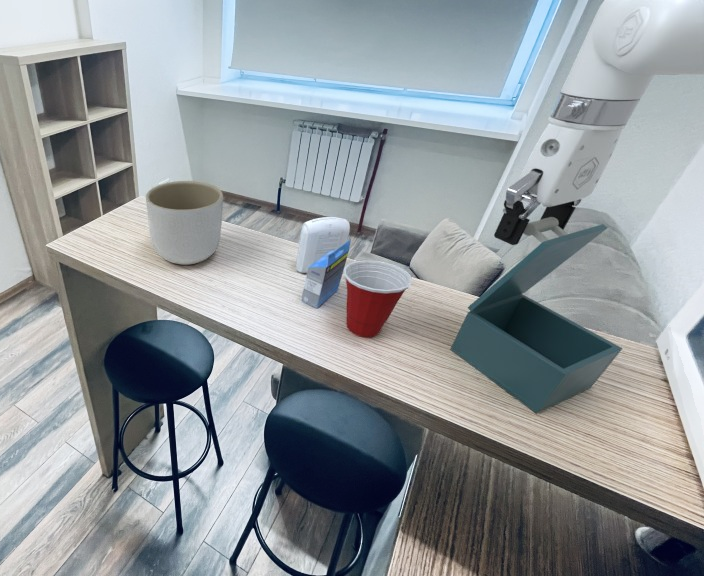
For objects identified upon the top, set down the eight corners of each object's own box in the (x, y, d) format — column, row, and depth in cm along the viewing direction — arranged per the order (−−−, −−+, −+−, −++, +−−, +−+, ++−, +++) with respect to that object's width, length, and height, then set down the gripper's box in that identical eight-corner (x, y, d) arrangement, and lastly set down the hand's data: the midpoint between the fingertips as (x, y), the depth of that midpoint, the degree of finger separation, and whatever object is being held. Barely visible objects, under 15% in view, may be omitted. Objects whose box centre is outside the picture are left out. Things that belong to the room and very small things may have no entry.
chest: (591, 387, 63) (623, 348, 58) (536, 414, 59) (565, 374, 54) (500, 330, 74) (521, 293, 69) (449, 349, 70) (467, 311, 65)
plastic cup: (368, 304, 81) (383, 252, 74) (406, 339, 72) (428, 283, 65) (320, 315, 78) (331, 262, 71) (354, 352, 70) (370, 296, 63)
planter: (235, 253, 98) (239, 193, 89) (186, 282, 88) (184, 218, 80) (186, 231, 108) (184, 175, 99) (136, 255, 98) (129, 195, 89)
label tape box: (322, 283, 87) (332, 231, 80) (340, 290, 85) (352, 238, 78) (300, 301, 82) (309, 248, 75) (318, 310, 80) (329, 255, 73)
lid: (608, 227, 56) (575, 203, 59) (548, 245, 53) (516, 218, 55) (524, 293, 69) (500, 270, 71) (470, 311, 65) (448, 286, 68)
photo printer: (335, 261, 94) (346, 212, 87) (343, 271, 91) (355, 220, 84) (292, 265, 93) (300, 215, 86) (299, 275, 90) (307, 224, 83)
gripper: (579, 125, 45) (512, 258, 55) (668, 110, 50) (592, 234, 60) (513, 112, 51) (463, 234, 61) (599, 99, 56) (540, 214, 66)
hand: (527, 234), depth 60 cm, fingers open, 9 cm apart
